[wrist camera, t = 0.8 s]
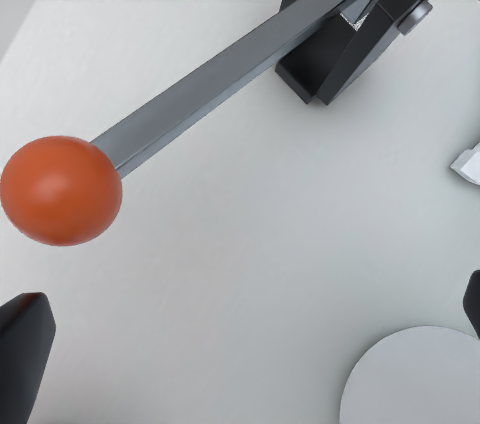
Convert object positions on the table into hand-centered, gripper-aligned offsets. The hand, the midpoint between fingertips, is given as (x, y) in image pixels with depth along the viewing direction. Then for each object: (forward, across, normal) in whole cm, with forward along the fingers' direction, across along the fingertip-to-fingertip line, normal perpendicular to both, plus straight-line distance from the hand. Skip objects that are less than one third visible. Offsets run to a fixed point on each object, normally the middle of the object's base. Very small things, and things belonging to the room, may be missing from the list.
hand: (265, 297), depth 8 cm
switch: (+9, 0, -3) cm, 9 cm away
